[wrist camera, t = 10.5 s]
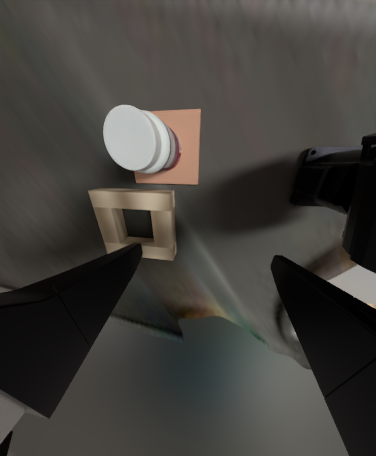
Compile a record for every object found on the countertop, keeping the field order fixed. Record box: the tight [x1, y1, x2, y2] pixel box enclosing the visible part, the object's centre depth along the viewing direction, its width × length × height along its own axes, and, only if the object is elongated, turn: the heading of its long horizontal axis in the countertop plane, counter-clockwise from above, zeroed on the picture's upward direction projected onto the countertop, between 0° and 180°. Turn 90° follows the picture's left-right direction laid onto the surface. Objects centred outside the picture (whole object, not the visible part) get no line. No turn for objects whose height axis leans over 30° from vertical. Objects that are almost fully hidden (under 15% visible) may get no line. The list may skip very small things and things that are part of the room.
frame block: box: [88, 188, 177, 261], centre depth 22 cm, size 12×11×2 cm
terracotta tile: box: [134, 109, 201, 185], centre depth 17 cm, size 9×8×1 cm
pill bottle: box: [103, 105, 182, 174], centre depth 13 cm, size 5×5×8 cm
